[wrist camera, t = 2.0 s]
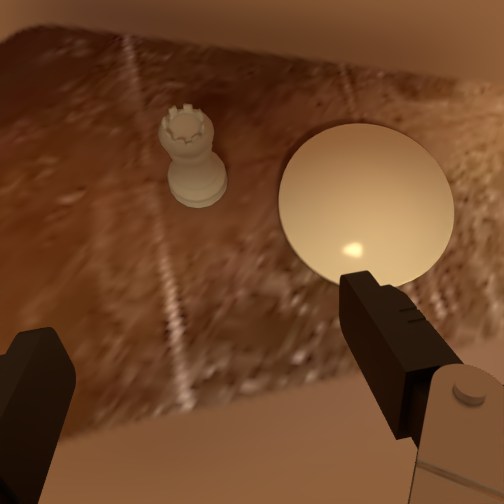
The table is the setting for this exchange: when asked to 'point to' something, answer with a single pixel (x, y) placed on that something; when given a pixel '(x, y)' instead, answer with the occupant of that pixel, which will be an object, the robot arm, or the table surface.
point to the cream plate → (365, 205)
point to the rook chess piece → (192, 157)
